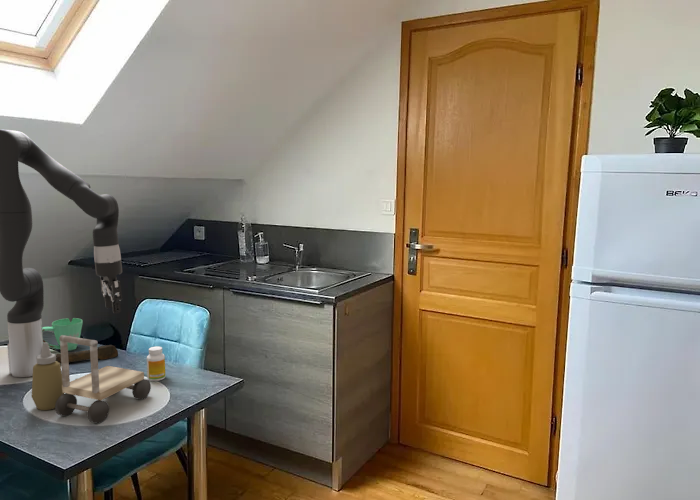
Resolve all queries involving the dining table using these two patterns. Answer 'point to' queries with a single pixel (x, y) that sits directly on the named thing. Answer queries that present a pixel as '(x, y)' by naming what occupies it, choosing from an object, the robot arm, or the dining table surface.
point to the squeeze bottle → (46, 380)
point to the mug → (65, 331)
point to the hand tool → (103, 353)
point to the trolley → (96, 383)
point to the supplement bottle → (155, 364)
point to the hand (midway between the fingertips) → (113, 310)
